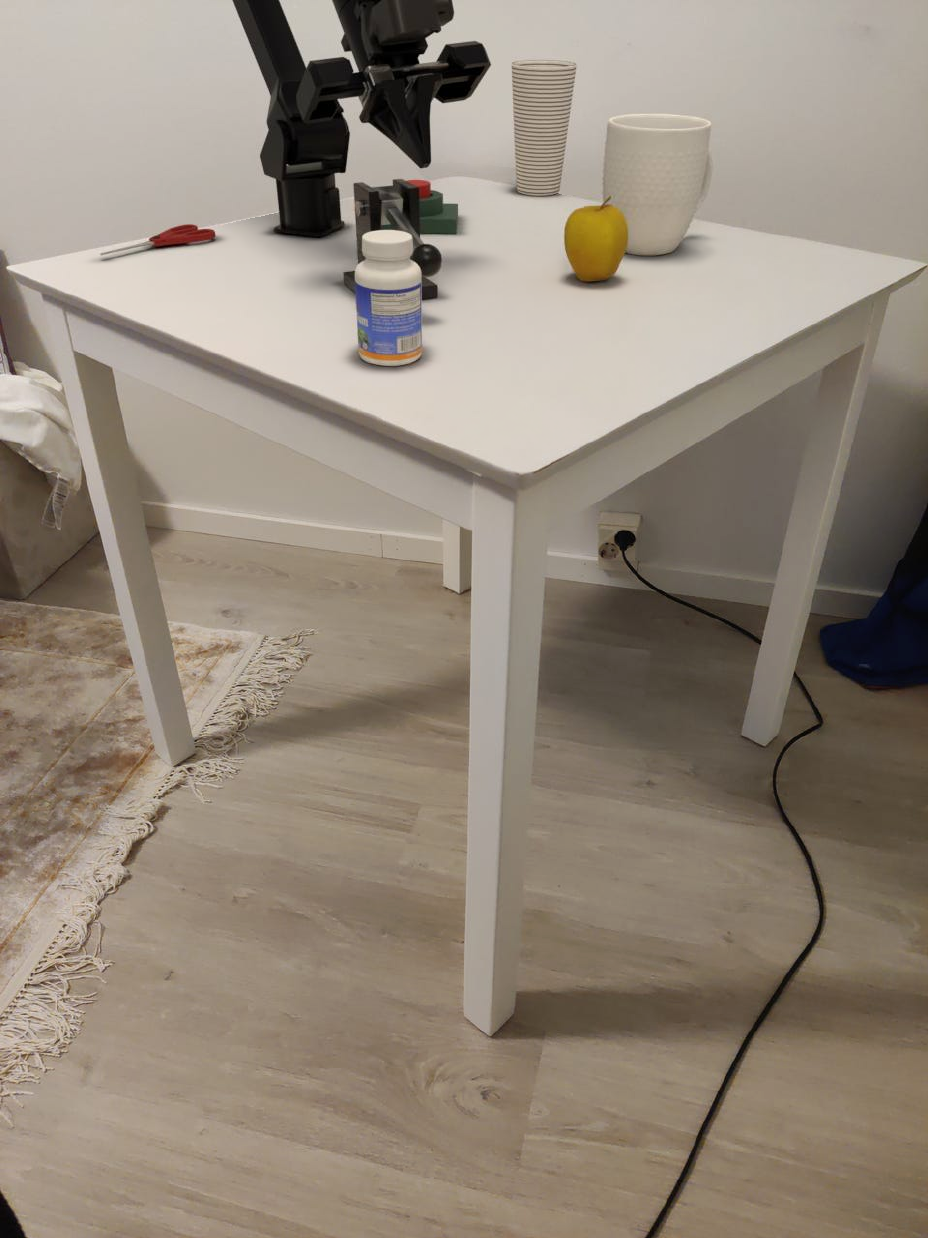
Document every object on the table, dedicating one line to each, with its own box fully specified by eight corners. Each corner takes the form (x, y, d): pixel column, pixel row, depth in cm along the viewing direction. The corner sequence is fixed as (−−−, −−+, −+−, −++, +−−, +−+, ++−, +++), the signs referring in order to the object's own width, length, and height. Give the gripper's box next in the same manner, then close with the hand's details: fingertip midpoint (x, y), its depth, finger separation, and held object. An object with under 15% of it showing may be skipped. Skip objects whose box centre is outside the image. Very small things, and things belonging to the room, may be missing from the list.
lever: (445, 281, 86) (448, 252, 84) (416, 284, 85) (419, 255, 83) (394, 210, 93) (396, 182, 91) (367, 213, 92) (368, 185, 90)
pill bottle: (359, 345, 82) (352, 227, 77) (421, 343, 83) (419, 226, 77) (358, 368, 78) (351, 245, 72) (424, 366, 78) (422, 243, 73)
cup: (503, 196, 130) (507, 65, 121) (511, 183, 137) (515, 58, 128) (565, 199, 129) (574, 67, 120) (570, 186, 136) (578, 60, 127)
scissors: (219, 238, 111) (218, 229, 110) (115, 263, 102) (114, 253, 101) (190, 230, 114) (189, 221, 113) (87, 254, 105) (85, 245, 104)
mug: (662, 226, 117) (677, 106, 109) (735, 245, 110) (756, 118, 102) (576, 246, 109) (585, 118, 102) (648, 267, 102) (664, 132, 95)
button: (399, 201, 114) (399, 185, 113) (402, 194, 117) (401, 179, 116) (430, 201, 114) (429, 185, 113) (431, 195, 117) (431, 179, 116)
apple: (630, 275, 100) (639, 193, 95) (612, 291, 95) (620, 206, 91) (573, 267, 102) (579, 187, 98) (552, 283, 97) (557, 200, 93)
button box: (372, 232, 114) (371, 201, 112) (379, 216, 120) (377, 187, 118) (456, 233, 114) (456, 202, 112) (458, 217, 120) (458, 187, 118)
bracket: (437, 297, 94) (436, 190, 88) (371, 306, 91) (365, 196, 85) (407, 275, 99) (404, 174, 94) (343, 283, 97) (336, 179, 91)
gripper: (296, -48, 80) (363, 131, 80) (484, -61, 87) (544, 102, 88) (270, 40, 90) (329, 198, 91) (440, 22, 97) (494, 167, 98)
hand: (426, 165), depth 91 cm, fingers closed
